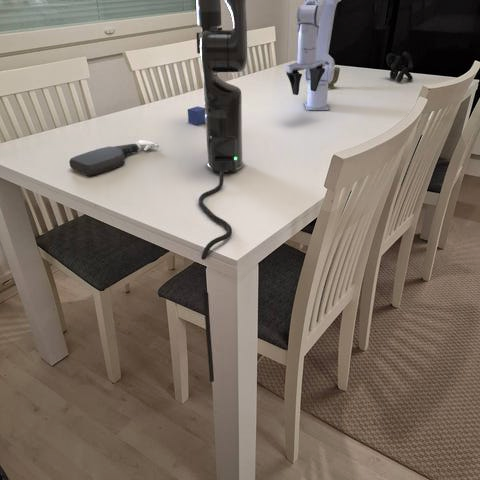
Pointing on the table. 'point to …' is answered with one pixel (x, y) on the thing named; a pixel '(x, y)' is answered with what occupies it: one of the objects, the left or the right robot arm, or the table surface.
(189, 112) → the brick
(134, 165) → the table surface
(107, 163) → the spray bottle
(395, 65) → the squiggle
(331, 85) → the olive rounded piece
